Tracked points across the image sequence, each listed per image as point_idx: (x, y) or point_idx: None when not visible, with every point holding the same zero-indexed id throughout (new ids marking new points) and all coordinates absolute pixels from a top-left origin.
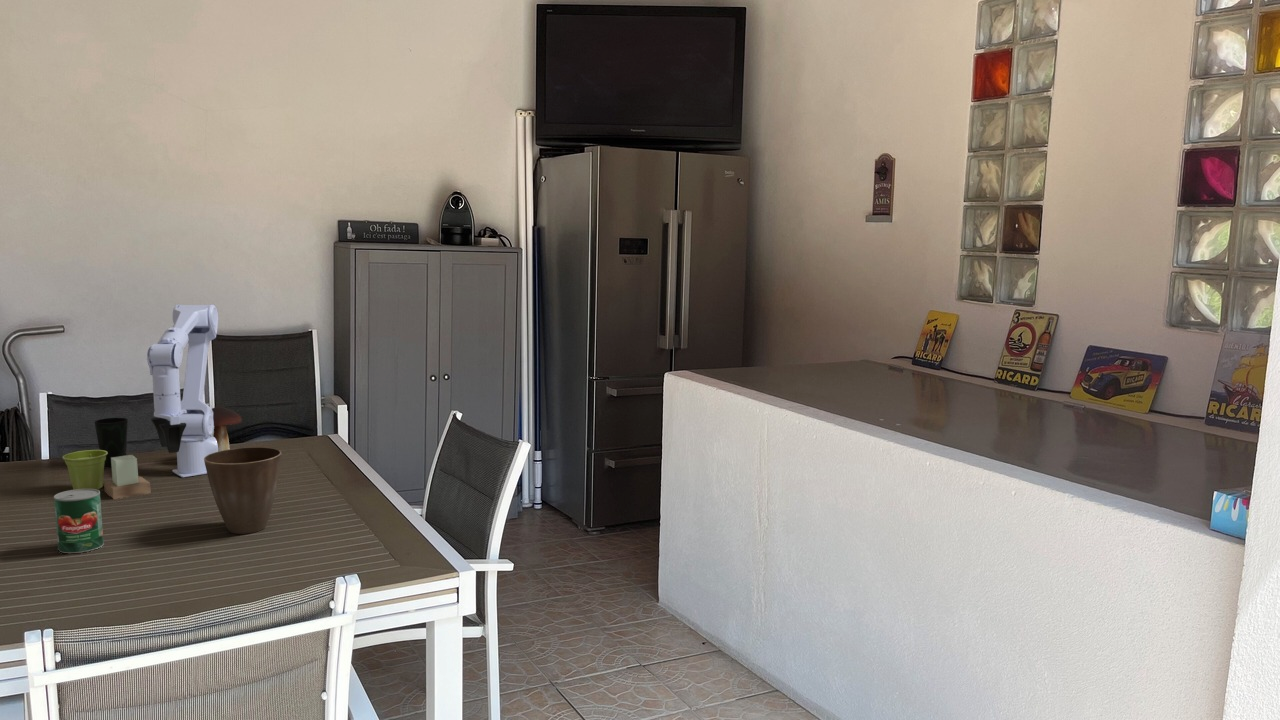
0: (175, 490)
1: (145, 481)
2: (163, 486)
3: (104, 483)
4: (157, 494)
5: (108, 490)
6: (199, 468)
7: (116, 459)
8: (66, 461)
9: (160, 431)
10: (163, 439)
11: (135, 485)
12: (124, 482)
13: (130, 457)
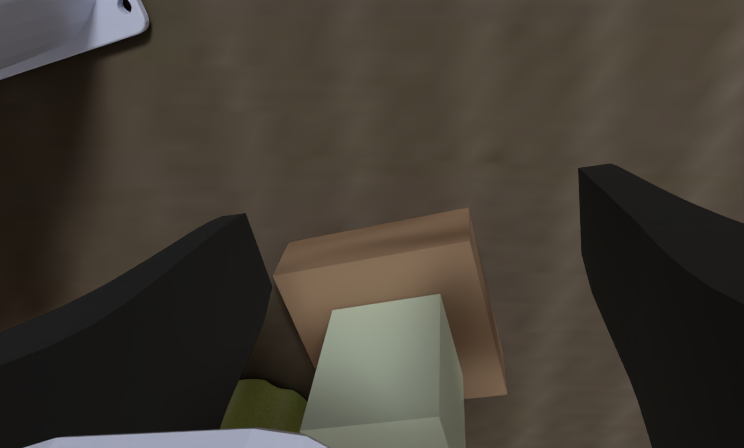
0: (466, 78)
1: (417, 261)
2: (331, 140)
3: None
4: (513, 178)
5: None
6: None
7: None
8: None
9: (204, 420)
10: (238, 323)
11: (484, 307)
12: (455, 361)
13: (386, 442)
